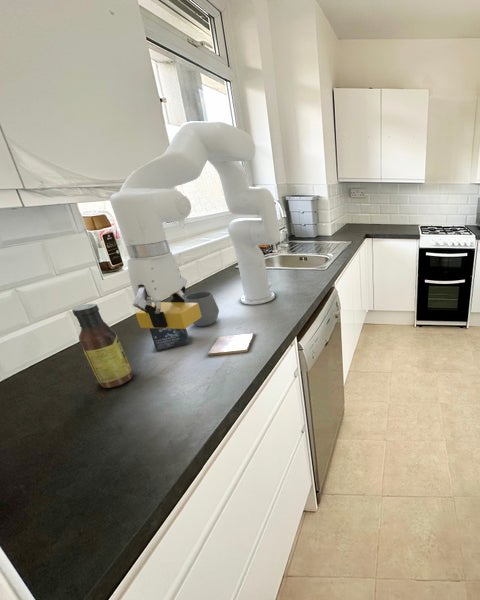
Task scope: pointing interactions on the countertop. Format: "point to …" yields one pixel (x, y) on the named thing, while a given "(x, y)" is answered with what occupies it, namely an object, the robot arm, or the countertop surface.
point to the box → (168, 337)
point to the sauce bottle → (102, 347)
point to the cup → (204, 307)
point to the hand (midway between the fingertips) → (171, 319)
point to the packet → (173, 315)
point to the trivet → (231, 344)
